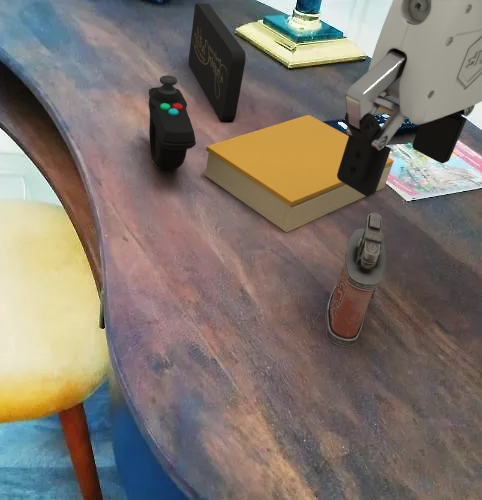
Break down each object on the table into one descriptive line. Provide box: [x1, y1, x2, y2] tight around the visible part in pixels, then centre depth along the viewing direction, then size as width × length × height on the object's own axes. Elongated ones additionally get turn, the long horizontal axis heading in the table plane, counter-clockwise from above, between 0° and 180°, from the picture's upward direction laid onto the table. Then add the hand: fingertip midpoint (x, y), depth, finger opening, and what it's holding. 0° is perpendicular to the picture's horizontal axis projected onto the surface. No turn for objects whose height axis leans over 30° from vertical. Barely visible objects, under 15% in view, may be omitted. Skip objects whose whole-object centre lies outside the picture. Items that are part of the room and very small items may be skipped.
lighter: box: [324, 212, 387, 348], centre depth 58 cm, size 8×3×10 cm, turn 161°
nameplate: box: [188, 2, 247, 121], centre depth 95 cm, size 21×2×10 cm, turn 10°
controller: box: [148, 75, 197, 170], centre depth 77 cm, size 4×12×10 cm, turn 8°
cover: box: [205, 114, 394, 206], centre depth 77 cm, size 18×14×1 cm
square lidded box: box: [204, 152, 393, 233], centre depth 78 cm, size 18×14×3 cm
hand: (393, 170), depth 51 cm, fingers open, 9 cm apart
